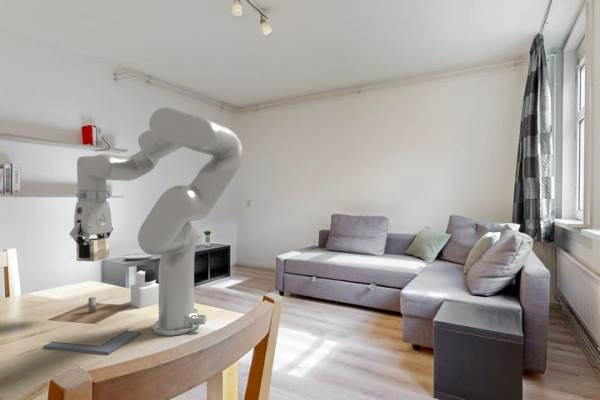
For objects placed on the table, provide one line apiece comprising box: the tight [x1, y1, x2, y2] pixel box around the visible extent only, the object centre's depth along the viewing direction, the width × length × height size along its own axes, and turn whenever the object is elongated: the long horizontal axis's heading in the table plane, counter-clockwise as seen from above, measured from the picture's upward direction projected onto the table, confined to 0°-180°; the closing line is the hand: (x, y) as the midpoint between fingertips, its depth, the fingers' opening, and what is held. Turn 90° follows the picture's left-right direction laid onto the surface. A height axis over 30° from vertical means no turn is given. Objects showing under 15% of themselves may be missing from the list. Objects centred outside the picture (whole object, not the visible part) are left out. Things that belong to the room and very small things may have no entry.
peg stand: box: [47, 296, 133, 325], centre depth 104 cm, size 16×16×5 cm
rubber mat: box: [43, 330, 142, 355], centre depth 86 cm, size 18×12×1 cm, turn 80°
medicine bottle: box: [130, 269, 159, 309], centre depth 113 cm, size 7×7×12 cm
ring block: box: [75, 237, 110, 262], centre depth 102 cm, size 6×6×6 cm
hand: (93, 255), depth 102 cm, fingers closed on ring block, 6 cm apart
